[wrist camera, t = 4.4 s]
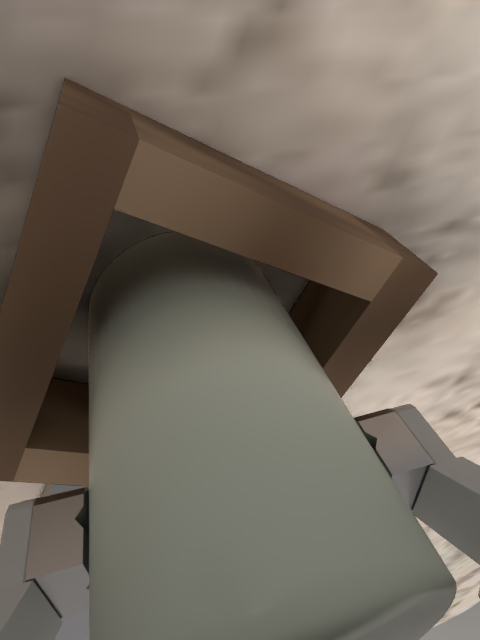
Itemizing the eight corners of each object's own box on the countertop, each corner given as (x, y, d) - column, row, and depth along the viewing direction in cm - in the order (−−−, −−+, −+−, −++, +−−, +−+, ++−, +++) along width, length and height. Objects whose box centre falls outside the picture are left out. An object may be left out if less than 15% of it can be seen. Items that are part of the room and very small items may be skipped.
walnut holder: (-25, 400, 15) (-46, 478, 12) (64, 77, 10) (57, 103, 8) (243, 435, 19) (264, 495, 17) (383, 230, 15) (438, 273, 13)
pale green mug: (65, 248, 12) (28, 672, 5) (267, 217, 14) (507, 516, 6) (124, 438, 17) (152, 790, 10) (266, 404, 19) (393, 695, 11)
